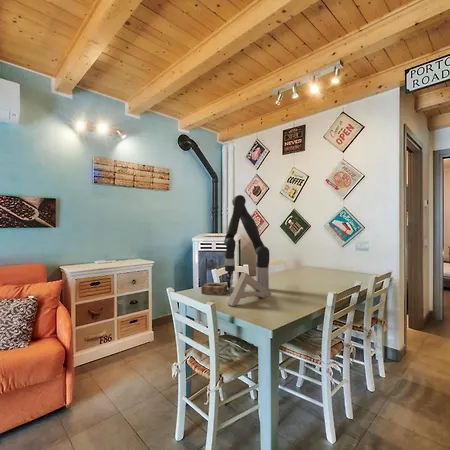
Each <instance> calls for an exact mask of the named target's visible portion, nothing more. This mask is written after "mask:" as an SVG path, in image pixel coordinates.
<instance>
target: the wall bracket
mask: <svg viewBox="0 0 450 450" xmlns="http://www.w3.org/2000/svg"><path fill="white" fill-rule="evenodd" d="M247 285H248V286H249V287H250V288H251V290H245V289H246V287H247ZM234 287H235V288H234V290H233V292H232V293H231V295H230V296H229V299H228V302H227V303H226V304H227V305H228V306H231V307H236V305H237V304H239V303H240V300H241V299H245V298H249V297H250V296H251V297H252V296H256V297H259V298H261V299H265V298H269V297H270V296H272V292H270V290H267V289H266V288H264V287H263V286H262V285H261V284H259V283H258V282H257V281H256V279H254V277H252V276H251V275H250V274H248V272H247V273H246V272H242V271H241V273H240V276H239V278H238V280H237V281H236V284H235V286H234ZM252 289H253V290H252Z"/></svg>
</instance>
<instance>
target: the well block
mask: <svg viewBox="0 0 450 450" xmlns="http://www.w3.org/2000/svg"><path fill="white" fill-rule="evenodd" d="M200 288H201V290H200V291H201V295H217V296H218V295H220V296H222V295H225V294H226V292H227V291H228V287H227V282H208V281H207V282H206V283H204V284H203V285H201V287H200Z"/></svg>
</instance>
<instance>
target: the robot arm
mask: <svg viewBox="0 0 450 450" xmlns="http://www.w3.org/2000/svg"><path fill="white" fill-rule="evenodd" d="M246 201H247V199H246V197H245V196H243V195H242V194H241V195H240V194H238V195H236V196H235V197H233V199H232V206H233V211H232V215H231V217H230V220H229V223H228V227H227V232H226V235H225V237H224V241H223V243H224V246H226V249H225V251H224V252H225V254H224V271H225V272H227V273H226V274H225V275H226V280H225V281H226V282H225V283H227V289H228V288H230V282H231V279H232V281H233V280H234V272H235V270H236V261H235V260H236V259H235V251H236V245H237V244H236V240H235V236H236V235H237V234H238V229H239V224H240V221H241V224H242V225H243V229H244V230H245V233H246V234H247V236H248V238H249V239H250V242H251V244H252V247H253V248H254V253H255V255H257V257H256V259H257V260H256V272H255V273H256V277H255V280H256V281H257V282H258V283H259V284H261V285H262V286H263V287H264V288H266V289H267V290H268V291H270V290H269V289H270V287H269V286H270V283H269V282H270V281H269V280H270V279H269V278H270V275H269V272H270V271H269V265H270V250H269V248H268V247H267V246H265V244H264V242H263V241H262V238H261V236H260V231H259V227H258V226H257V223H256V221H255V220H254V218H253V217H252V215H251V214H250V213H249V211H248V209H247V207H246ZM228 280H229V281H228Z"/></svg>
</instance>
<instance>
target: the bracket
mask: <svg viewBox="0 0 450 450" xmlns="http://www.w3.org/2000/svg"><path fill="white" fill-rule="evenodd" d="M228 281H229V280H228ZM234 288H235V286H233V280H232V279H231V282H230V288H228V287H227V291H228V292H229V293H230V292H232V293H233V290H234Z"/></svg>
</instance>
